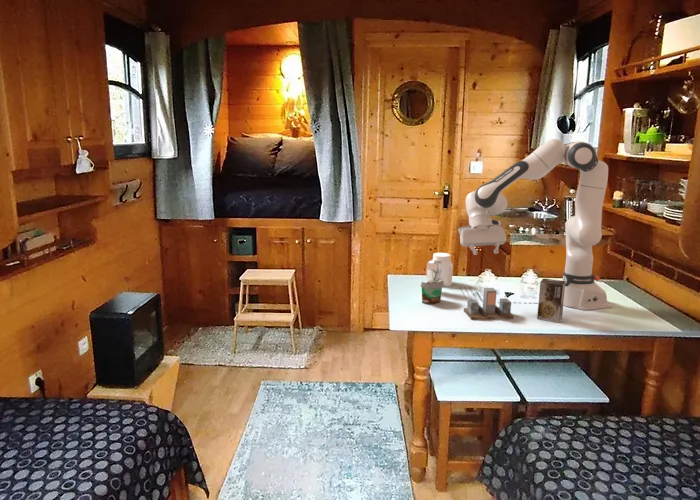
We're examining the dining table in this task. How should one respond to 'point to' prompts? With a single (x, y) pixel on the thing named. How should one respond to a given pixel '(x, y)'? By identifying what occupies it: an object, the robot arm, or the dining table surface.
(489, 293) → the grey orange block
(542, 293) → the coffee box
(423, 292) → the food container
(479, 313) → the rail board
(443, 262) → the jar
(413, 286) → the dining table surface
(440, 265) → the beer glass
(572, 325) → the dining table surface
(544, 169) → the robot arm
